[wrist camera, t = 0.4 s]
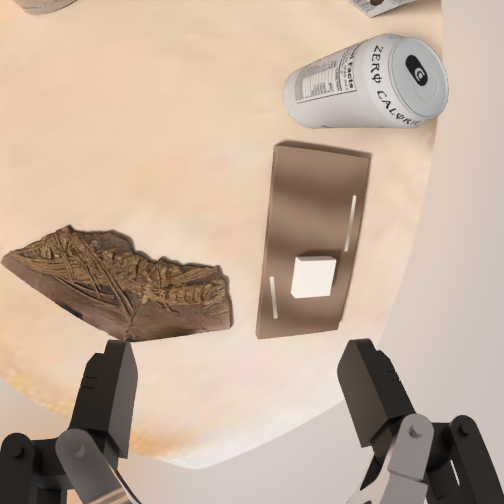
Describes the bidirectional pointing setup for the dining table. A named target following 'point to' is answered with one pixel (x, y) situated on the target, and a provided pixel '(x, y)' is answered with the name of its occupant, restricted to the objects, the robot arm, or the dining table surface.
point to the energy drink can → (369, 86)
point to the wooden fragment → (122, 286)
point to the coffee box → (378, 6)
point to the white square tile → (313, 276)
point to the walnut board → (309, 236)
